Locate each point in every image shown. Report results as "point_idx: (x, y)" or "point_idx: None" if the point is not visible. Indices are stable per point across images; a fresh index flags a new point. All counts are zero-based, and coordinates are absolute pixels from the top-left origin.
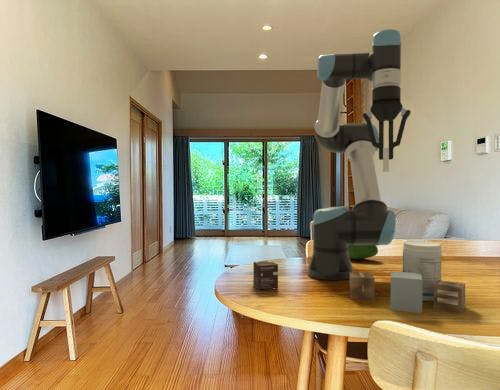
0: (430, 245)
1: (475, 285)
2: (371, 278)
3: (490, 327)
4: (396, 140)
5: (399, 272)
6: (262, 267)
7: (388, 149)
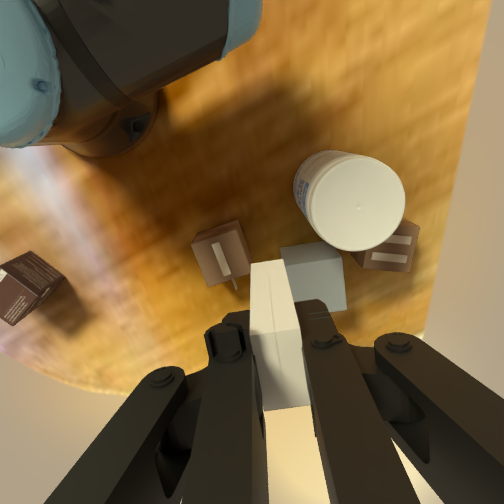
0: (379, 234)
1: (447, 3)
2: (246, 274)
3: (424, 302)
4: (398, 441)
5: (301, 270)
6: (19, 320)
7: (306, 394)
